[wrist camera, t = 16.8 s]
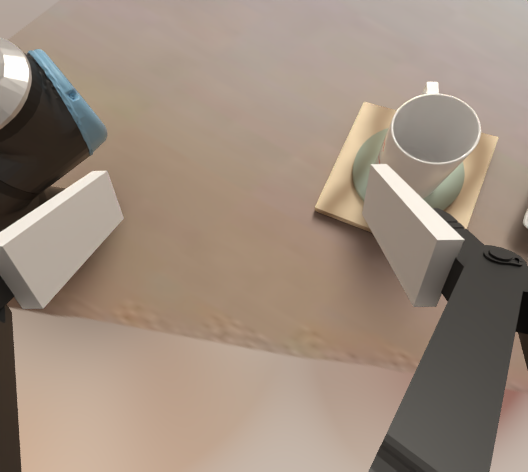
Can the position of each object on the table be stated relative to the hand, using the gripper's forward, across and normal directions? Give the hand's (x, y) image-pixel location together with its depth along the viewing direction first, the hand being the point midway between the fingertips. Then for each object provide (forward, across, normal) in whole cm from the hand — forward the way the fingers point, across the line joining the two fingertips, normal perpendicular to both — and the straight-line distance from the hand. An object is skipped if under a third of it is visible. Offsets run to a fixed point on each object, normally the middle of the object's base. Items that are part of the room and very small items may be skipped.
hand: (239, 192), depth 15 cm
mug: (+27, +21, -9) cm, 36 cm away
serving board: (+28, +21, -11) cm, 37 cm away
